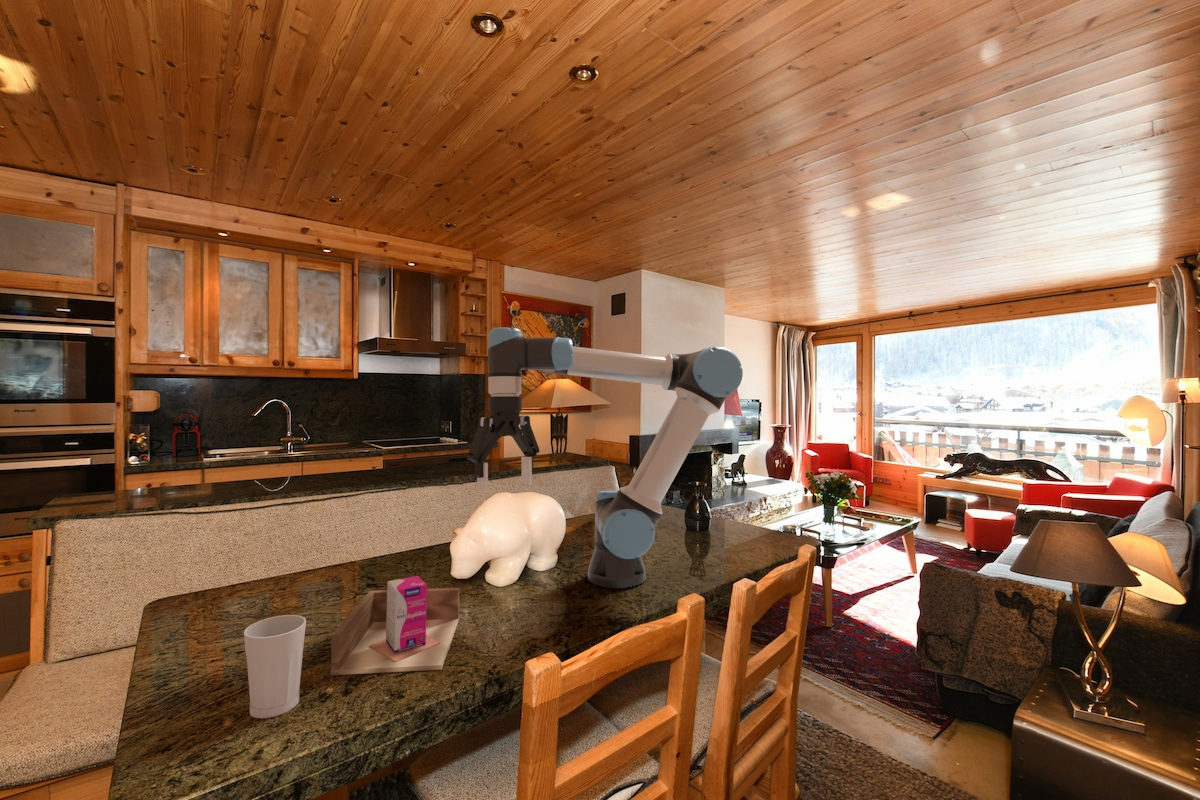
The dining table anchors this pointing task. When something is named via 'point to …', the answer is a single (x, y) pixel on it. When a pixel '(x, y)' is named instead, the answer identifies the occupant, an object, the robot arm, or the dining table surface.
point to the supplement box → (406, 613)
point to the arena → (365, 636)
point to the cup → (274, 664)
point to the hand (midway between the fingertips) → (505, 488)
